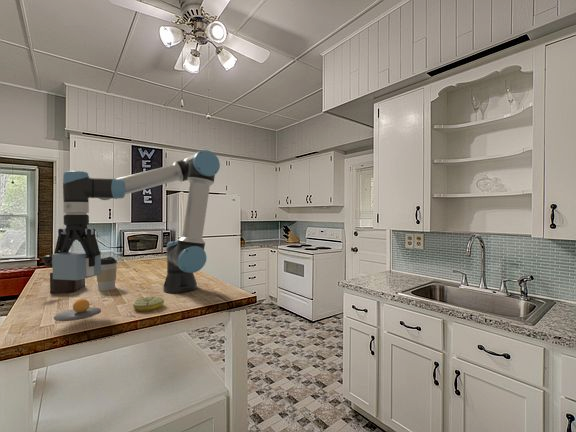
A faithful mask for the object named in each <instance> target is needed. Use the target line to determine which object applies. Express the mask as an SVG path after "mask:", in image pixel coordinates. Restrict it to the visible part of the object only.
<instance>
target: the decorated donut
mask: <svg viewBox="0 0 576 432" xmlns="http://www.w3.org/2000/svg"><path fill="white" fill-rule="evenodd" d="M164 303H165V300H164V298H163V297H160V296H147V297H141V298H139V299H136V300H135V301H134V302H133V303H132V306H133V309H134V310H135V311H137V312H140V313H145V312H146V313H147V312H154V311H157V310H160V309H161V308H162V307H163V306H164Z"/></svg>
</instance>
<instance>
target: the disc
mask: <svg viewBox="0 0 576 432" xmlns="http://www.w3.org/2000/svg"><path fill="white" fill-rule="evenodd" d="M101 311H102V310H101V308H100V307H96V306H93V307H92V306H89V308H88V309H87V310H86V311H85V312H82V313H78V312H75V311H74V309H73V308H72V309H68V310H65V311H62V312H59V313H57V314H55V315H54V316H53V320H56V321H59V322H60V321H61V322H62V321H63V322H65V321H66V322H67V321H68V322H69V321H75V320H82V319H86V318H87V319H88V318H89V317H93V316H96V315H97V314H100V313H101Z"/></svg>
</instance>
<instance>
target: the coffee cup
mask: <svg viewBox="0 0 576 432" xmlns="http://www.w3.org/2000/svg"><path fill="white" fill-rule="evenodd" d="M117 263H118V260H117V259H115V258H114V257H113V256H107V257H103V258H102V257H101V275H97V276H96V282H97V288H98V289H97V290H98V291H100V292H101V291H105V292H106V291H111V290H114V289H116V279H117V269H118V267H117Z"/></svg>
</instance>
